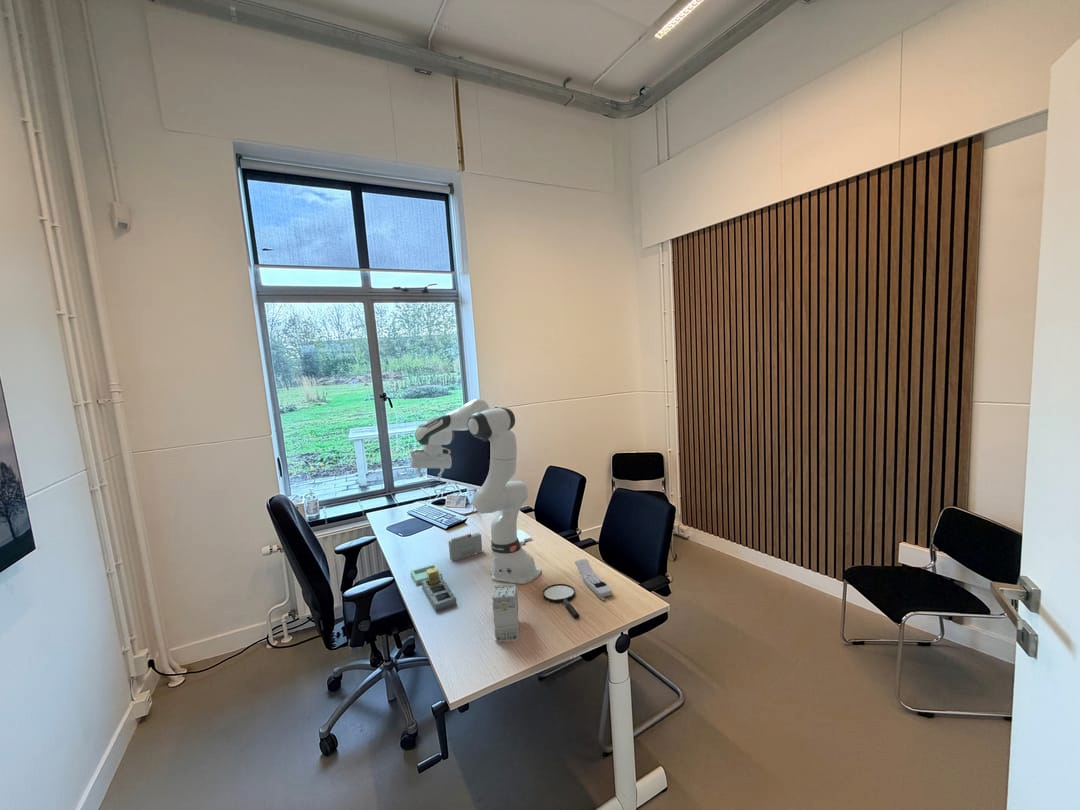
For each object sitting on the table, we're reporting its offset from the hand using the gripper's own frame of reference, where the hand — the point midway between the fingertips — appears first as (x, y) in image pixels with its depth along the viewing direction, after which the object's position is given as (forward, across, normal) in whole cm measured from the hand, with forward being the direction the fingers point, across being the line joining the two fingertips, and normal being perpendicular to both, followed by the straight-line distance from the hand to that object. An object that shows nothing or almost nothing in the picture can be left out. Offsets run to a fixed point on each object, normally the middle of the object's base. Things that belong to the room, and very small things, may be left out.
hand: (430, 477), depth 217 cm
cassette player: (+36, +16, -17) cm, 43 cm away
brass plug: (+40, -5, -40) cm, 57 cm away
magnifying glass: (+35, +33, -79) cm, 93 cm away
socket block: (+40, -5, -47) cm, 62 cm away
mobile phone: (+32, +49, -76) cm, 96 cm away
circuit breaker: (+40, +9, -82) cm, 91 cm away
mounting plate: (+31, +44, -14) cm, 55 cm away
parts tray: (+40, -5, -27) cm, 48 cm away
